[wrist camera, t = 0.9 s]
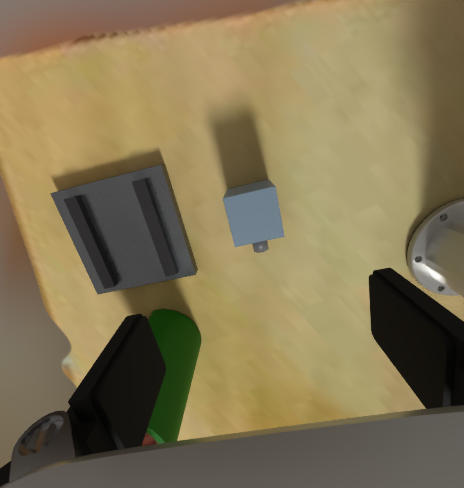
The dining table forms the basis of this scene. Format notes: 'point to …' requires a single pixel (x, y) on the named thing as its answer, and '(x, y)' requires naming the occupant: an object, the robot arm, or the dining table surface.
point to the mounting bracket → (127, 230)
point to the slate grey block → (254, 214)
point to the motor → (172, 373)
